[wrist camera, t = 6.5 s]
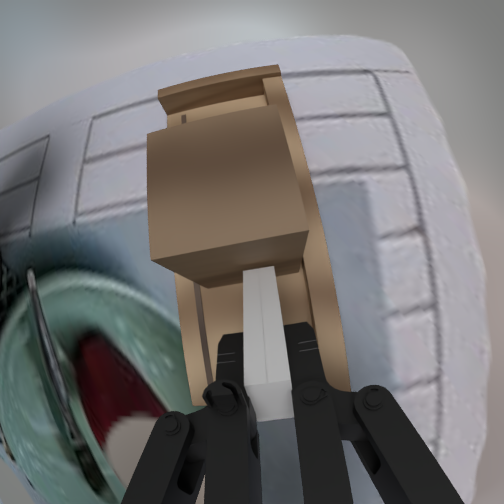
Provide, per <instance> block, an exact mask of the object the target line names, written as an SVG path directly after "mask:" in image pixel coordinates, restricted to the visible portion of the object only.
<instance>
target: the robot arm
mask: <svg viewBox="0 0 504 504" xmlns="http://www.w3.org/2000/svg"><path fill="white" fill-rule="evenodd" d="M0 286H1V256H0ZM202 398H203V399H204V401H205V403H206V404H207V406H206V407H205V408H203V409H201V410H199V411H196V412H193V413H191V414H187V415H184V414H183V413H180V412H178V411H171V412H167V413H165V414H163V415H162V416H160V417H159V419H158V420H157V421H156V423H155V425H154V428H153V430H152V432H151V435H150V437H149V439H148V442H147V444H146V446H145V448H144V451H143V453H142V455H141V458H140V460H139V462H138V464H137V467H136V469H135V472H134V474H133V476H132V479H131V481H130V483H129V485H128V488H127V490H126V492H125V495H124V497H123V500H122V502H121V504H195V502H196V499H197V497H198V494H199V491H200V487H201V484H202V481H203V478H204V475H205V494H204V504H262V486H261V467H260V447H259V434H258V430H257V424H256V419H257V421H258V422H262V421H270V420H278V419H286V418H293V417H294V418H295V427H296V435H297V443H298V451H299V460H300V469H301V477H302V486H303V495H304V504H353V499H352V493H351V487H350V482H349V477H348V471H347V466H346V461H345V456H344V451H343V446H342V441H341V440H349V441H351V443H352V445H353V447H354V448H355V450H356V452H357V454H358V456H359V458H360V459H361V461H362V463H363V465H364V467H365V469H366V470H367V472H368V474H369V476H370V478H371V480H372V481H373V483H374V485H375V487H376V489H377V490H378V492H379V494H380V496H381V498H382V500H383V501H384V503H385V504H464V502H463V501H462V499H461V498H460V496H459V494H458V493H457V491H456V490H455V488H454V487H453V485H452V483H451V482H450V480H449V479H448V477H447V476H446V474H445V473H444V471H443V470H442V468H441V467H440V465H439V464H438V462H437V460H436V459H435V457H434V456H433V454H432V453H431V451H430V450H429V448H428V447H427V445H426V444H425V442H424V441H423V440H422V438H421V437H420V435H419V434H418V432H417V431H416V429H415V428H414V426H413V425H412V423H411V422H410V420H409V419H408V417H407V416H406V415H405V413H404V412H403V410H402V409H401V407H400V406H399V404H398V403H397V402H396V400H395V399H394V397H393V396H392V394H391V393H390V392H389V391H388V390H387V389H386V388H384V387H382V386H379V385H370V386H366V387H364V388H362V389H361V390H359V391H358V392H348V391H341V390H338V389H335V388H334V387H332V386H331V385H330V384H329V383H328V382H327V380H326V377H325V373H324V369H323V365H322V361H321V356H320V352H319V349H318V344H317V341H316V336H315V332H314V329H313V328H312V327H311V326H310V324H309V323H308V322H307V321H306V322H300V323H294V324H288V325H283V320H282V314H281V307H280V301H279V294H278V288H277V282H276V276H275V270H274V266H270V267H264V268H258V269H252V270H246V271H243V332H239V333H231V334H223V336H222V338H221V340H220V341H219V343H218V350H217V365H216V380H215V381H214V382H212V383H211V384H209V385H208V386H207V387H206V388H205V390H204V391H203V395H202Z"/></svg>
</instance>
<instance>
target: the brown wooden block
mask: <svg viewBox="0 0 504 504" xmlns="http://www.w3.org/2000/svg"><path fill="white" fill-rule="evenodd" d="M147 202H148V226H149V243H150V257H151V261H153V262H155V263H157V264H159V265H161V266H163V267H165V268H167V269H169V270H171V271H173V272H175V273H177V274H179V275H181V276H183V277H185V278H187V279H189V280H191V281H193V282H195V283H197V284H199V285H201V286H203V287H205V288H207V289H210V288H216V287H222V286H227V285H233V284H239V283H243V271H246V270H252V269H258V268H264V267H270V266H274V270H275V276H276V277H278V276H283V275H288V274H294V273H299V269H300V265H301V262H302V258H303V254H304V250H305V246H306V242H307V237H308V233H309V226H308V222H307V218H306V214H305V209H304V205H303V201H302V197H301V193H300V189H299V185H298V181H297V177H296V173H295V169H294V165H293V162H292V158H291V154H290V150H289V147H288V143H287V139H286V136H285V132H284V129H283V125H282V122H281V118H280V115H279V111H278V108H277V105H276V104H274V105H268V106H262V107H256V108H251V109H245V110H240V111H235V112H230V113H226V114H221V115H217V116H212V117H208V118H204V119H200V120H195V121H192V122H188V123H184V124H180V125H176V126H173V127H169V128H166V129H162V130H159V131H155V132H152V133H149V134H147Z"/></svg>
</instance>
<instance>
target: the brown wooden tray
mask: <svg viewBox="0 0 504 504" xmlns="http://www.w3.org/2000/svg"><path fill="white" fill-rule="evenodd" d="M158 100H159V101H160V103H161V105H162V107H163V109H164V110H165V112H166V114H167V128H169V127H173V126H176V125H180V124H184V123H188V122H192V121H195V120H200V119H204V118H208V117H212V116H217V115H221V114H226V113H230V112H235V111H240V110H245V109H251V108H256V107H262V106H268V105H274V104H276V105H277V108H278V111H279V115H280V118H281V122H282V125H283V129H284V132H285V136H286V139H287V143H288V147H289V150H290V154H291V158H292V162H293V165H294V169H295V173H296V177H297V181H298V185H299V189H300V193H301V197H302V201H303V205H304V209H305V214H306V218H307V222H308V226H309V233H308V237H307V242H306V246H305V250H304V254H303V258H302V262H301V265H300V269H299V273H294V274H288V275H283V276H278V277H276V282H277V288H278V294H279V301H280V307H281V314H282V320H283V325H288V324H294V323H300V322H306V321H307V322H308V323H309V324H310V326H311V327H312V328H313V329H314V332H315V336H316V341H317V344H318V349H319V352H320V356H321V361H322V365H323V369H324V373H325V377H326V380H327V382H328V383H329V384H330V385H331V386H332V387H334V388H335V389H338V390H341V391H348V392H351V387H350V379H349V372H348V364H347V357H346V350H345V343H344V337H343V331H342V324H341V318H340V313H339V307H338V301H337V296H336V290H335V285H334V280H333V274H332V269H331V264H330V259H329V255H328V250H327V245H326V240H325V236H324V231H323V227H322V222H321V218H320V214H319V210H318V205H317V201H316V197H315V193H314V189H313V185H312V181H311V177H310V173H309V169H308V166H307V162H306V158H305V155H304V151H303V147H302V144H301V140H300V137H299V133H298V130H297V126H296V123H295V119H294V116H293V113H292V109H291V106H290V103H289V100H288V96H287V93H286V90H285V87H284V84H283V81H282V78H281V71H280V68H279V65H270V66H263V67H257V68H250V69H245V70H239V71H234V72H228V73H223V74H219V75H214V76H209V77H205V78H201V79H197V80H193V81H189V82H185V83H181V84H177V85H174V86H170V87H166V88H163V89H160V90H158ZM174 274H175V284H176V293H177V302H178V311H179V319H180V327H181V334H182V342H183V349H184V356H185V362H186V369H187V375H188V381H189V387H190V393H191V398H192V404H193V406H204V405H207V404H206V403H205V401H204V399H203V398H202V395H203V391H204V390H205V388H206V387H207V386H208V385H209V384H211V383H212V382H214V381H215V380H216V365H217V350H218V343H219V341H220V340H221V338H222V336H223V334H231V333H239V332H243V283H239V284H233V285H227V286H222V287H216V288H210V289H207V288H205V287H203V286H201V285H199V284H197V283H195V282H193V281H191V280H189V279H187V278H185V277H183V276H181V275H179V274H177V273H175V272H174Z"/></svg>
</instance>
